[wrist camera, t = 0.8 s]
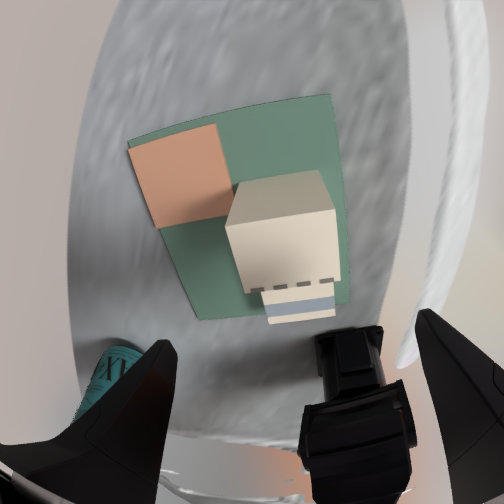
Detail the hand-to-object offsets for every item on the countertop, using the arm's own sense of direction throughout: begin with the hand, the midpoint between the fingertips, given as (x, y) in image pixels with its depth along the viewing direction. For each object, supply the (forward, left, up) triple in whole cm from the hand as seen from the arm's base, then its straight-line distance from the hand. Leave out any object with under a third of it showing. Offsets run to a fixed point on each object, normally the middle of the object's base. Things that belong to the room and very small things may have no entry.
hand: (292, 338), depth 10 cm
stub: (0, 0, -11) cm, 11 cm away
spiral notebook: (-5, 0, -11) cm, 12 cm away
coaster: (+3, +6, -11) cm, 13 cm away
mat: (-1, +3, -12) cm, 12 cm away
